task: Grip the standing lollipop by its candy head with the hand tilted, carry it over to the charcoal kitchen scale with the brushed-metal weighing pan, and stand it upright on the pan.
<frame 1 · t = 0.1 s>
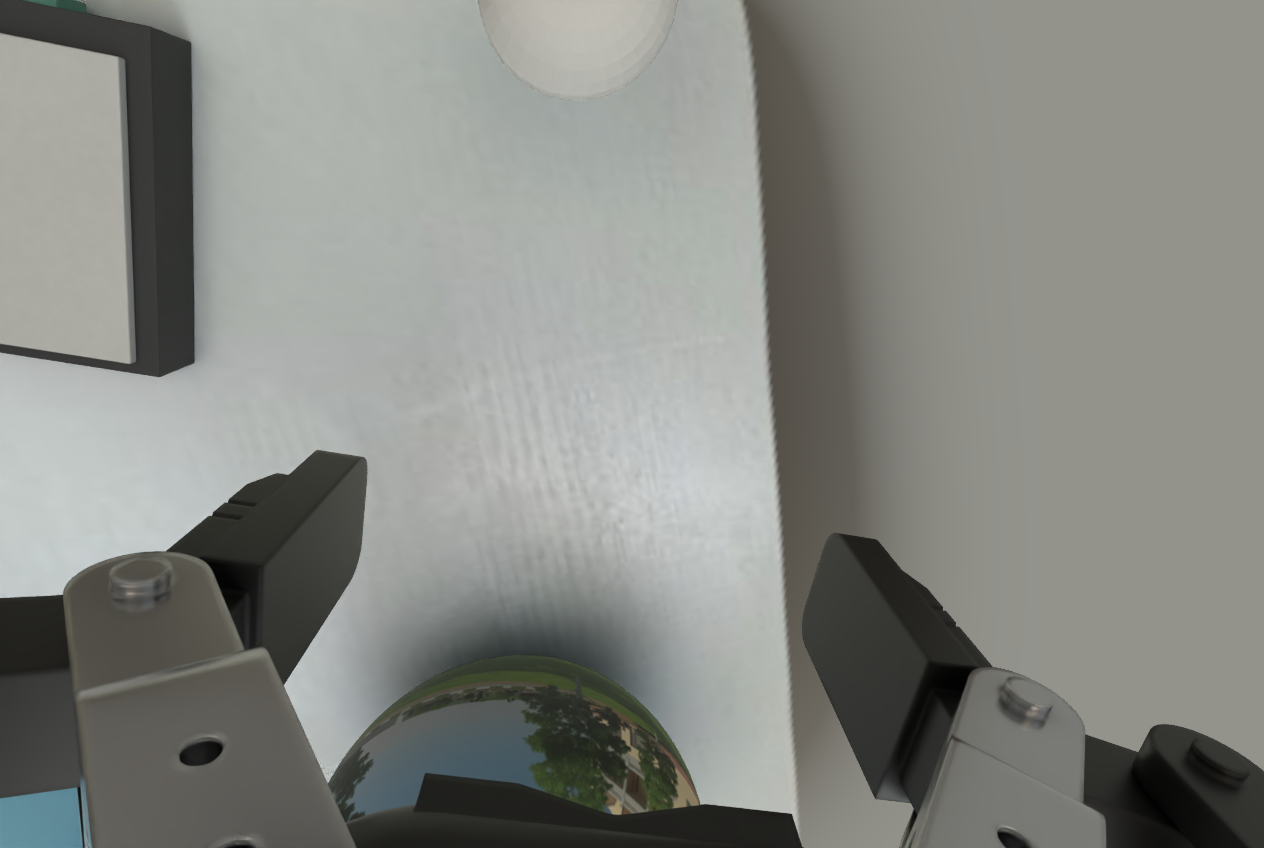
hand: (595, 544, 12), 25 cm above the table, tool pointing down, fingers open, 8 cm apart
decorative sphere: (529, 715, 44), on the table
teapot: (36, 794, 43), on the table
scale: (26, 183, 32), on the table
lollipop: (584, 64, 32), on the table
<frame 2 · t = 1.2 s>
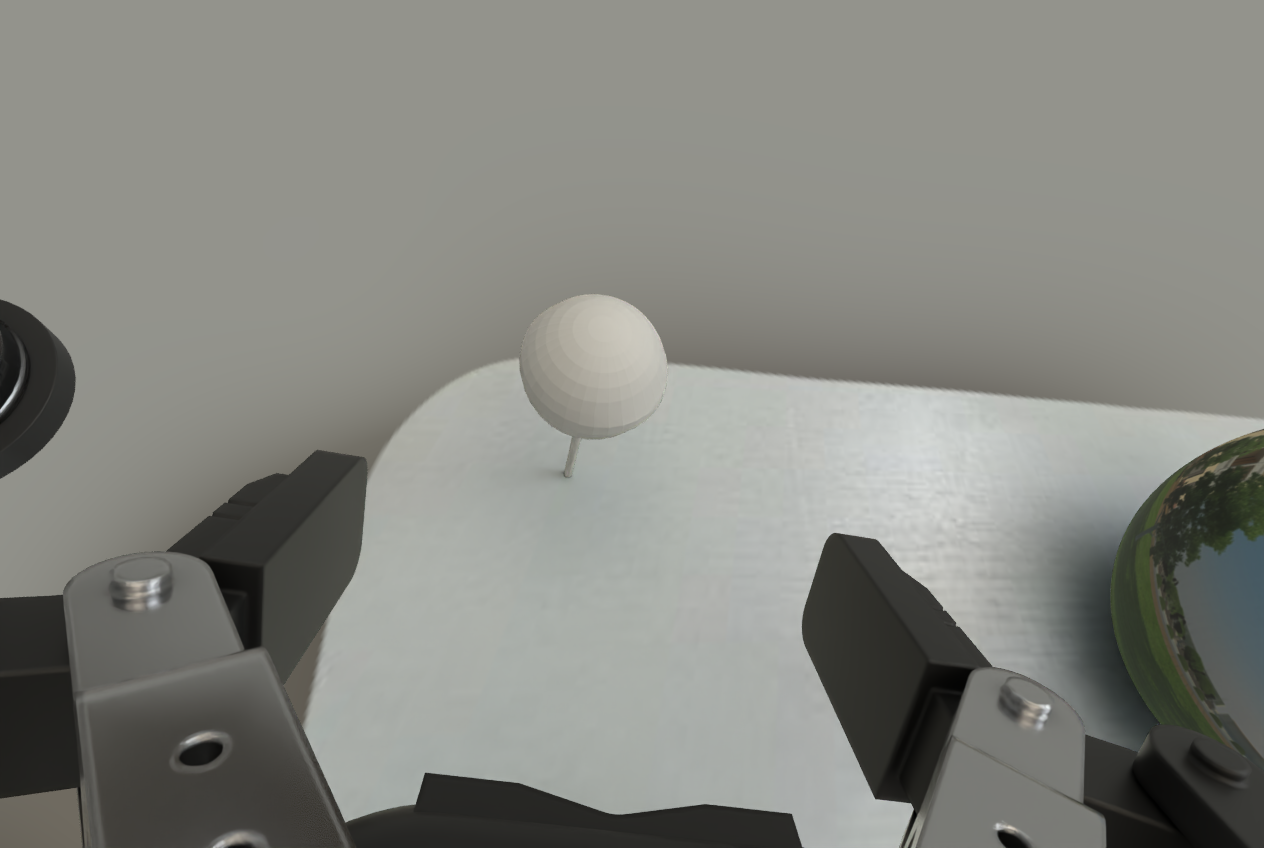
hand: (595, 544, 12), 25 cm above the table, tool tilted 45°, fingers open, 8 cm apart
decorative sphere: (1175, 655, 40), on the table
lollipop: (567, 474, 39), on the table
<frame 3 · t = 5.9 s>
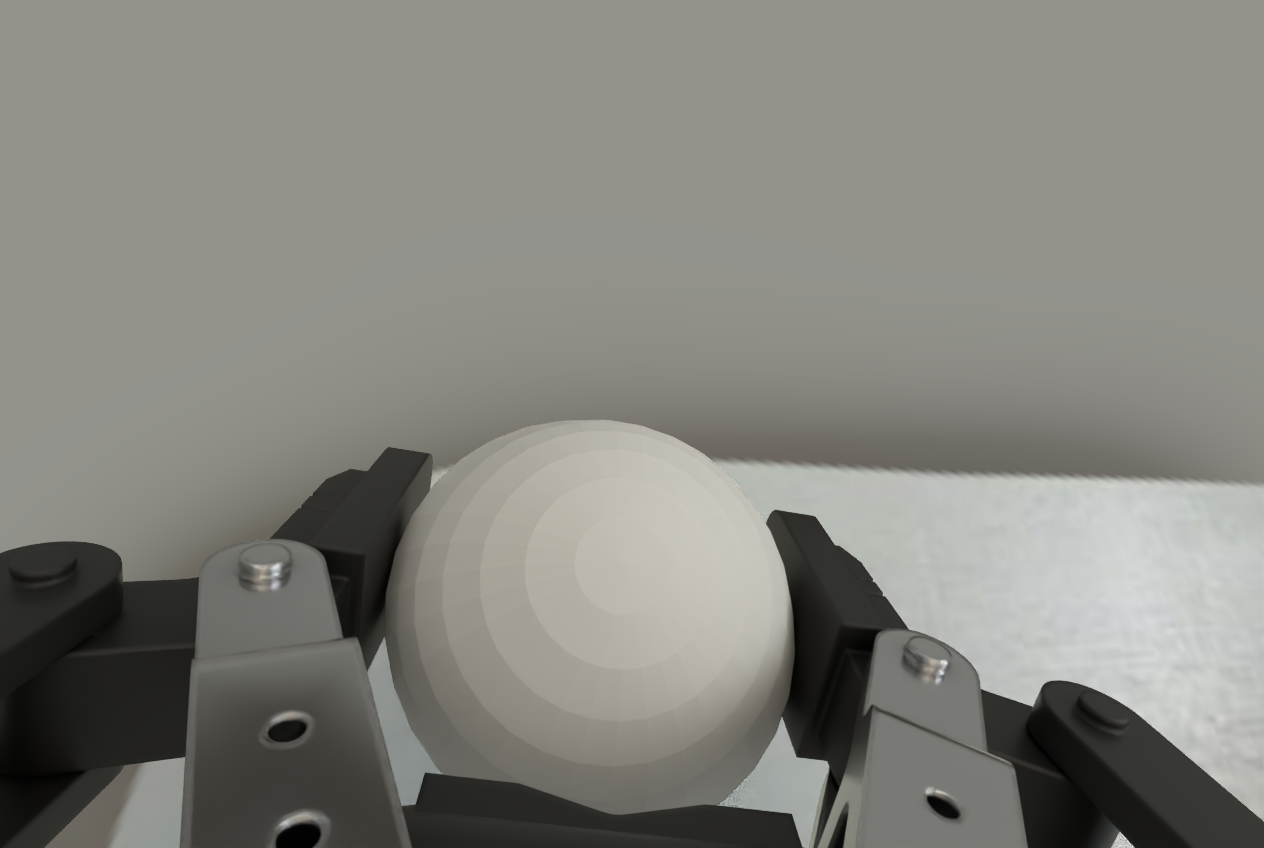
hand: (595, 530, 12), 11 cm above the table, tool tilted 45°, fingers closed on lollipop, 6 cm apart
lollipop: (545, 688, 21), on the table, touching gripper
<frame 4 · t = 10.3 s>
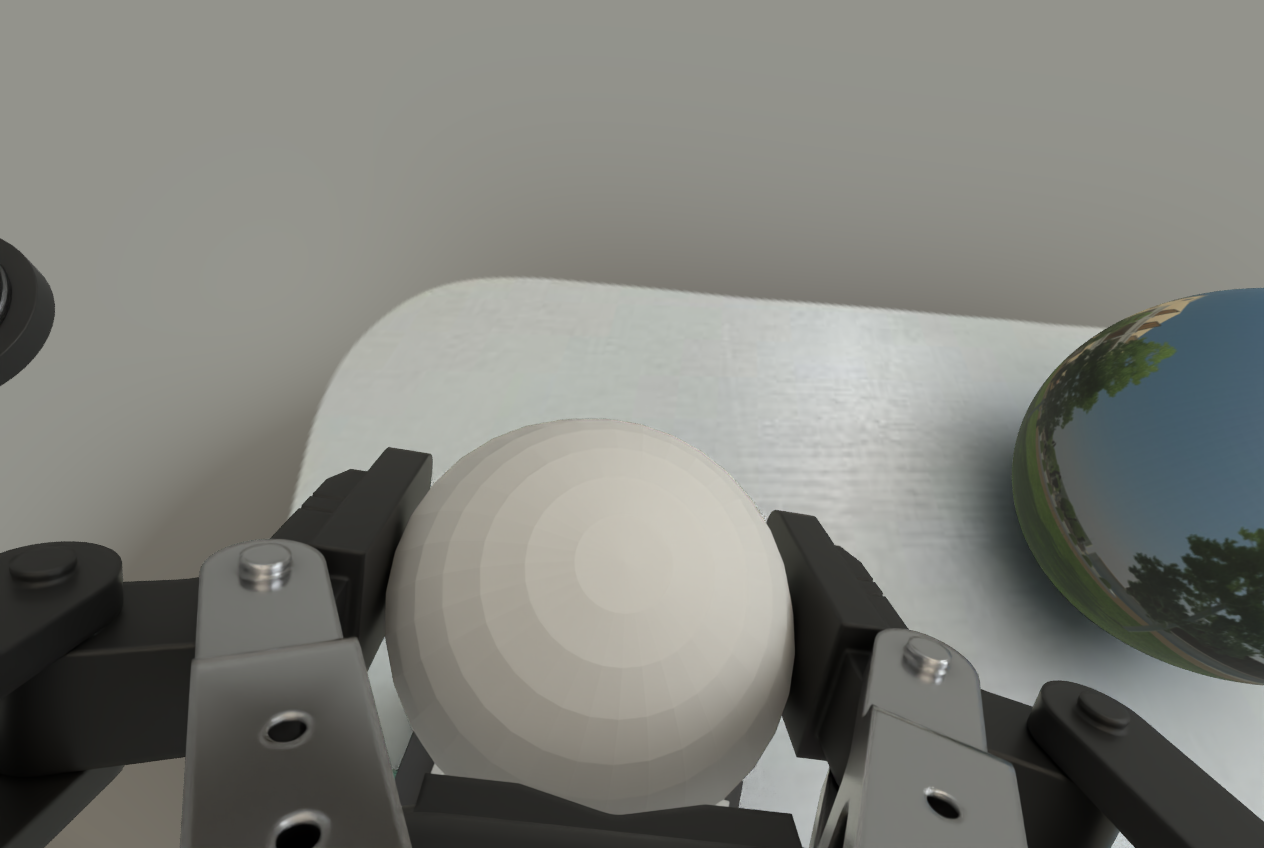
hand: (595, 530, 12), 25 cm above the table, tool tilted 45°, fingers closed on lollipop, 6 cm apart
decorative sphere: (1080, 538, 44), on the table
lollipop: (545, 687, 21), point 14 cm above the table, touching gripper
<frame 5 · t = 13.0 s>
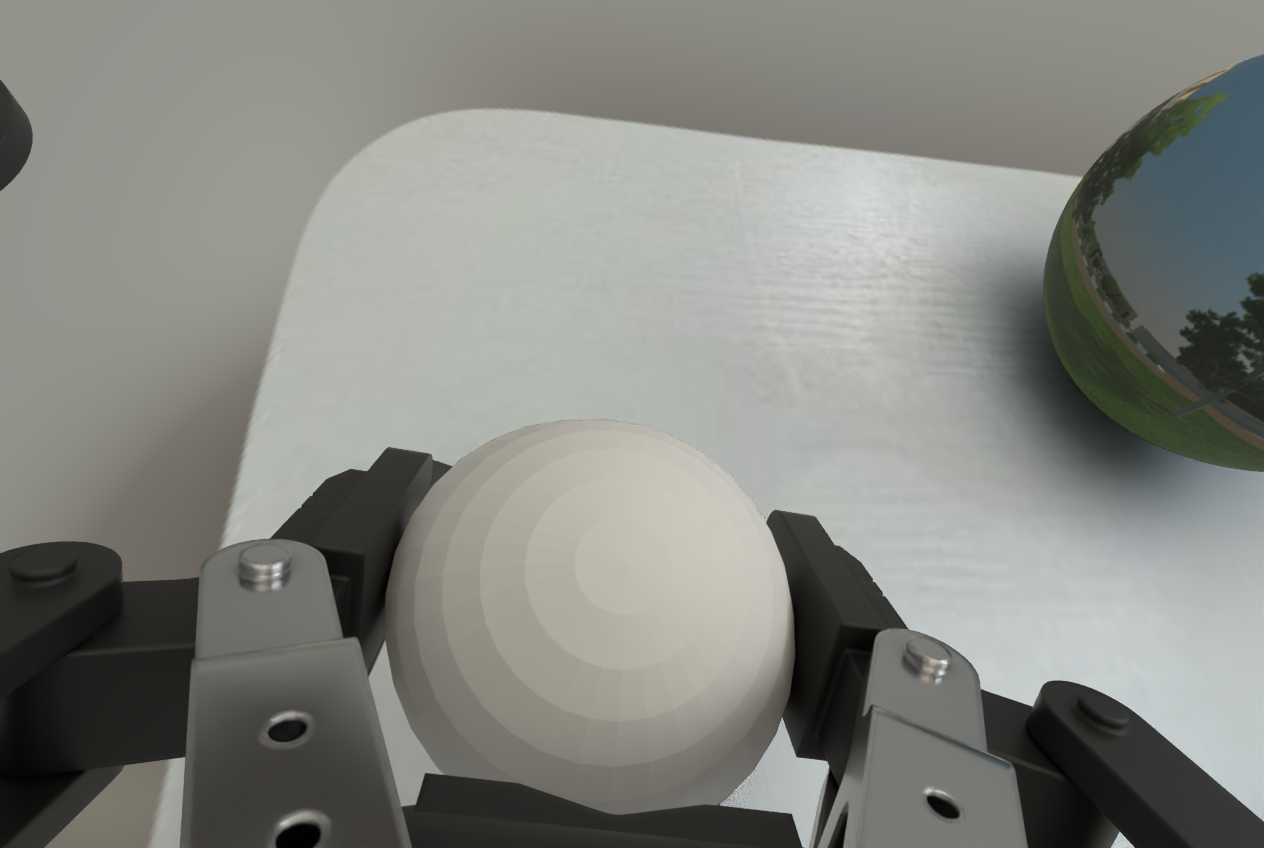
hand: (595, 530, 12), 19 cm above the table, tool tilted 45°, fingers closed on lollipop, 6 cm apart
decorative sphere: (1113, 374, 42), on the table
scale: (537, 701, 28), on the table
lollipop: (545, 687, 21), point 8 cm above the table, touching gripper
when the fingers open (14 cm above the table, at t = 14.9 s): lollipop stays where it is, resting on scale.
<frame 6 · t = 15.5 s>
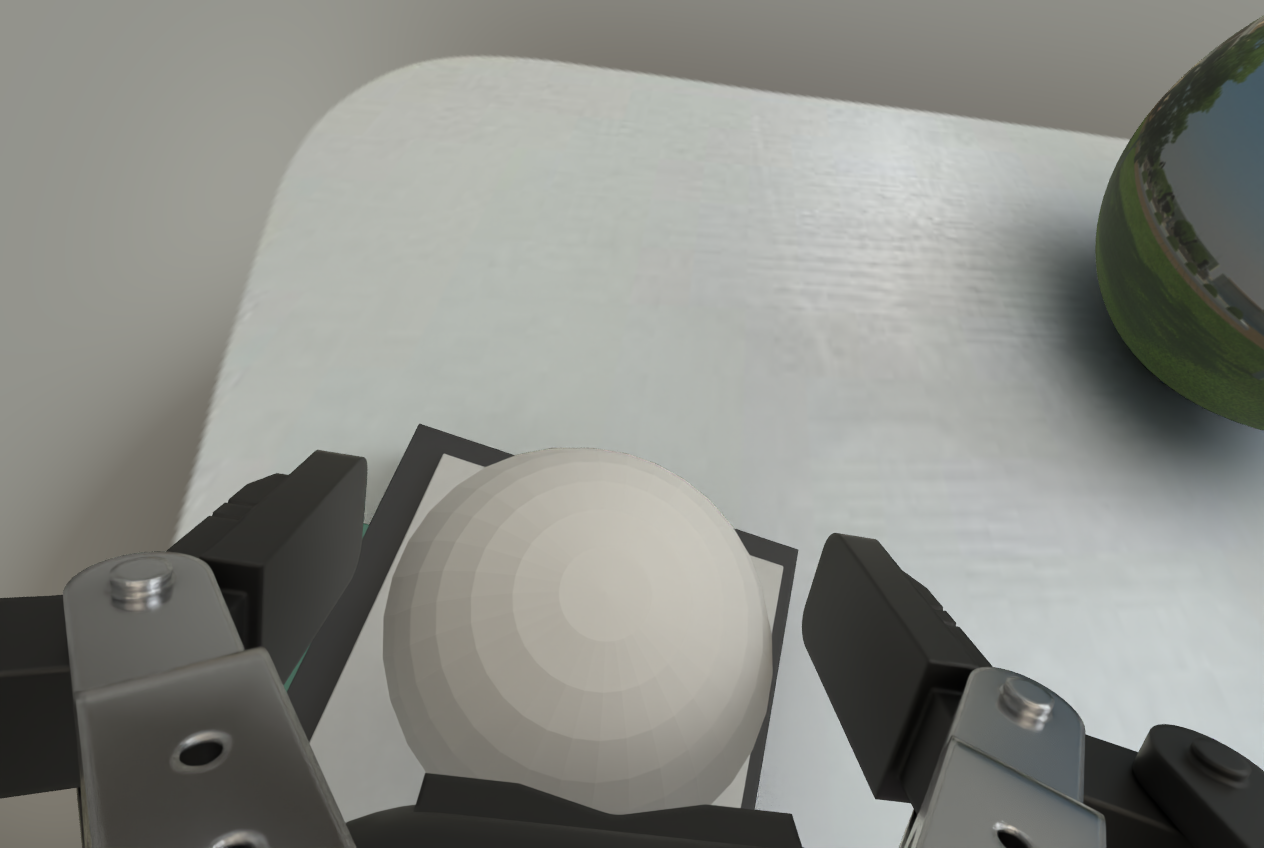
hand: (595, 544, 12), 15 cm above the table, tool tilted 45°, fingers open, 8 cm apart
decorative sphere: (1166, 345, 38), on the table
scale: (539, 699, 25), on the table
lollipop: (541, 696, 22), point 3 cm above the table, touching scale
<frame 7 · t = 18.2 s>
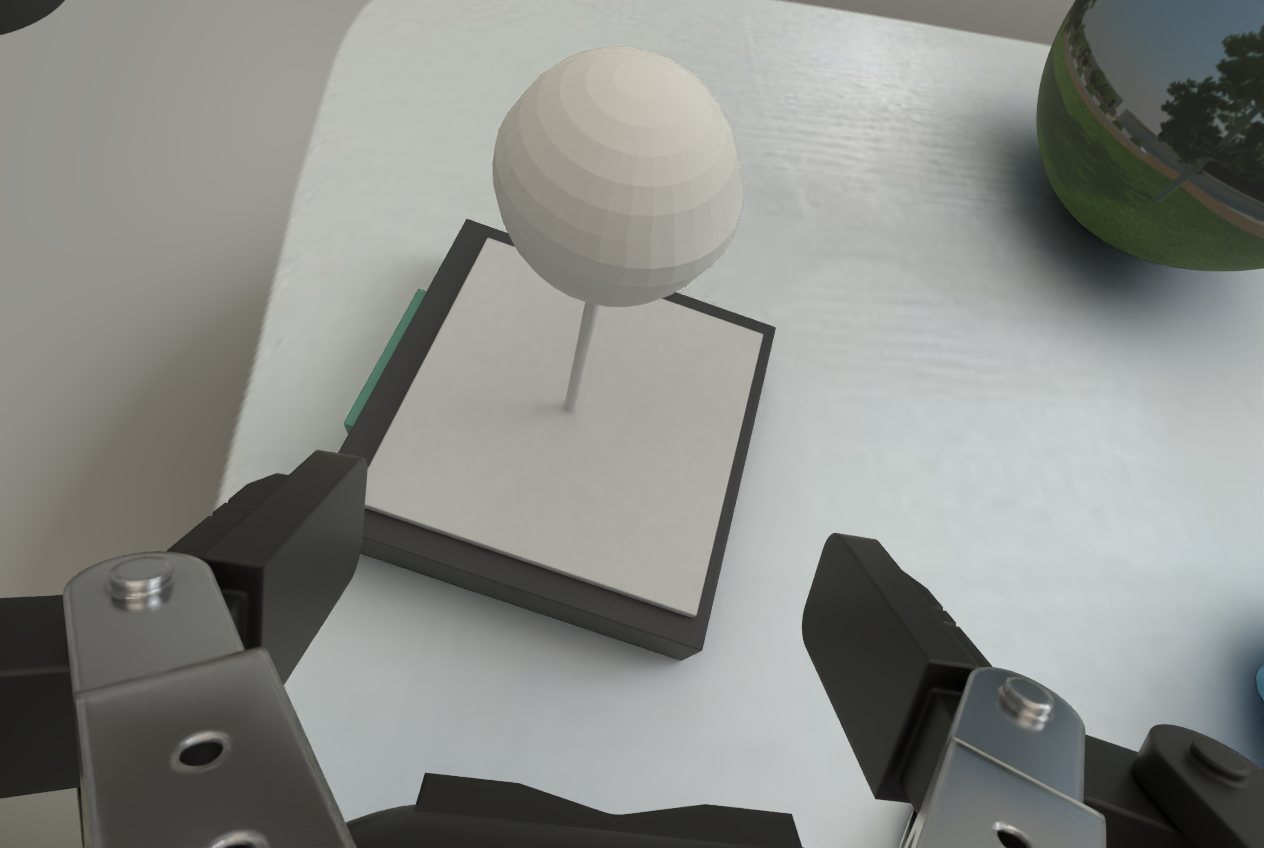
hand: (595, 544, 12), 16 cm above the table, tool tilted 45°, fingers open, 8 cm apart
decorative sphere: (1101, 214, 44), on the table
scale: (564, 439, 31), on the table
lollipop: (569, 409, 27), point 3 cm above the table, touching scale
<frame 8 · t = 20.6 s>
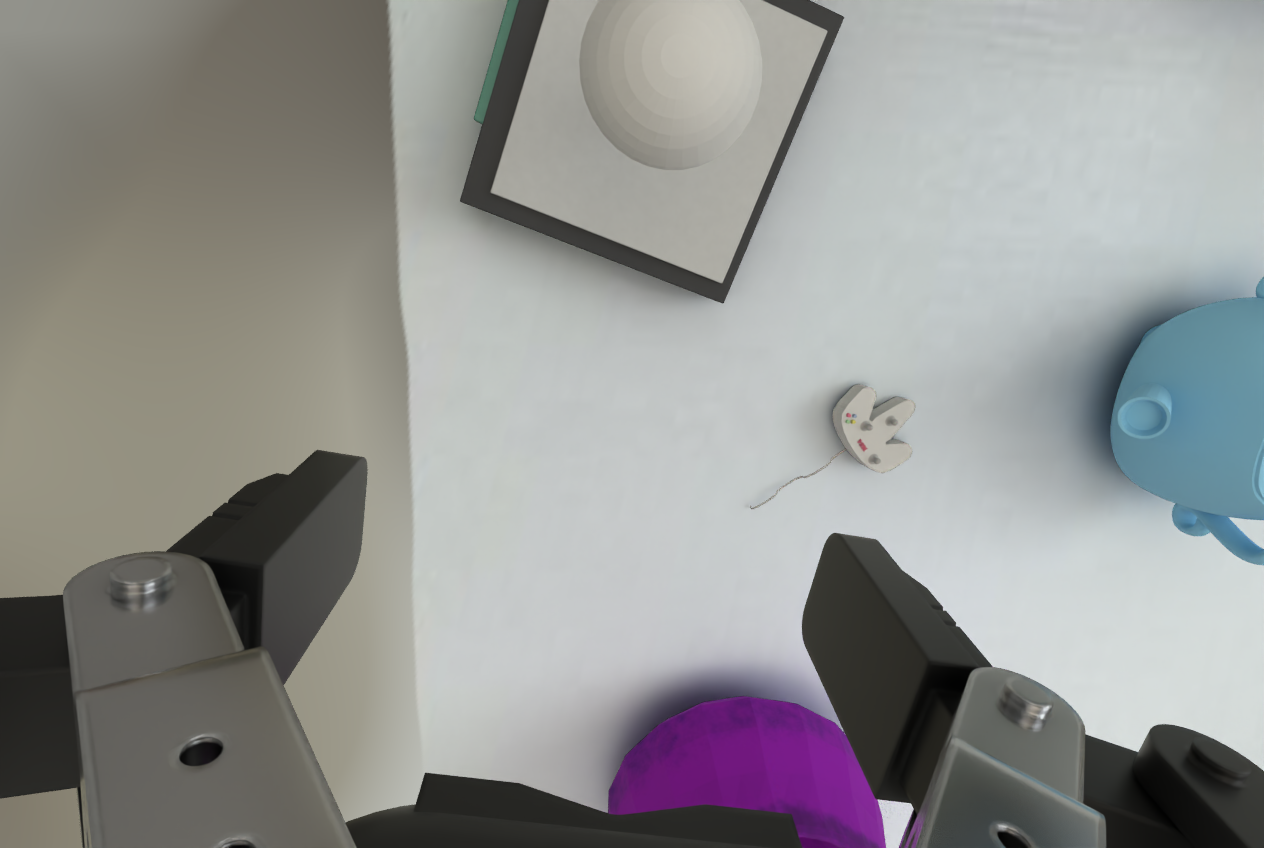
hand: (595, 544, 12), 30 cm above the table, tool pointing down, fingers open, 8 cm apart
decorative plant: (729, 763, 52), on the table
teapot: (1173, 389, 44), on the table
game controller: (823, 448, 44), on the table
scale: (643, 117, 37), on the table
lollipop: (645, 113, 34), point 3 cm above the table, touching scale
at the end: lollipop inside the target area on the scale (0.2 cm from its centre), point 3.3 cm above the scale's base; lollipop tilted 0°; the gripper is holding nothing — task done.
